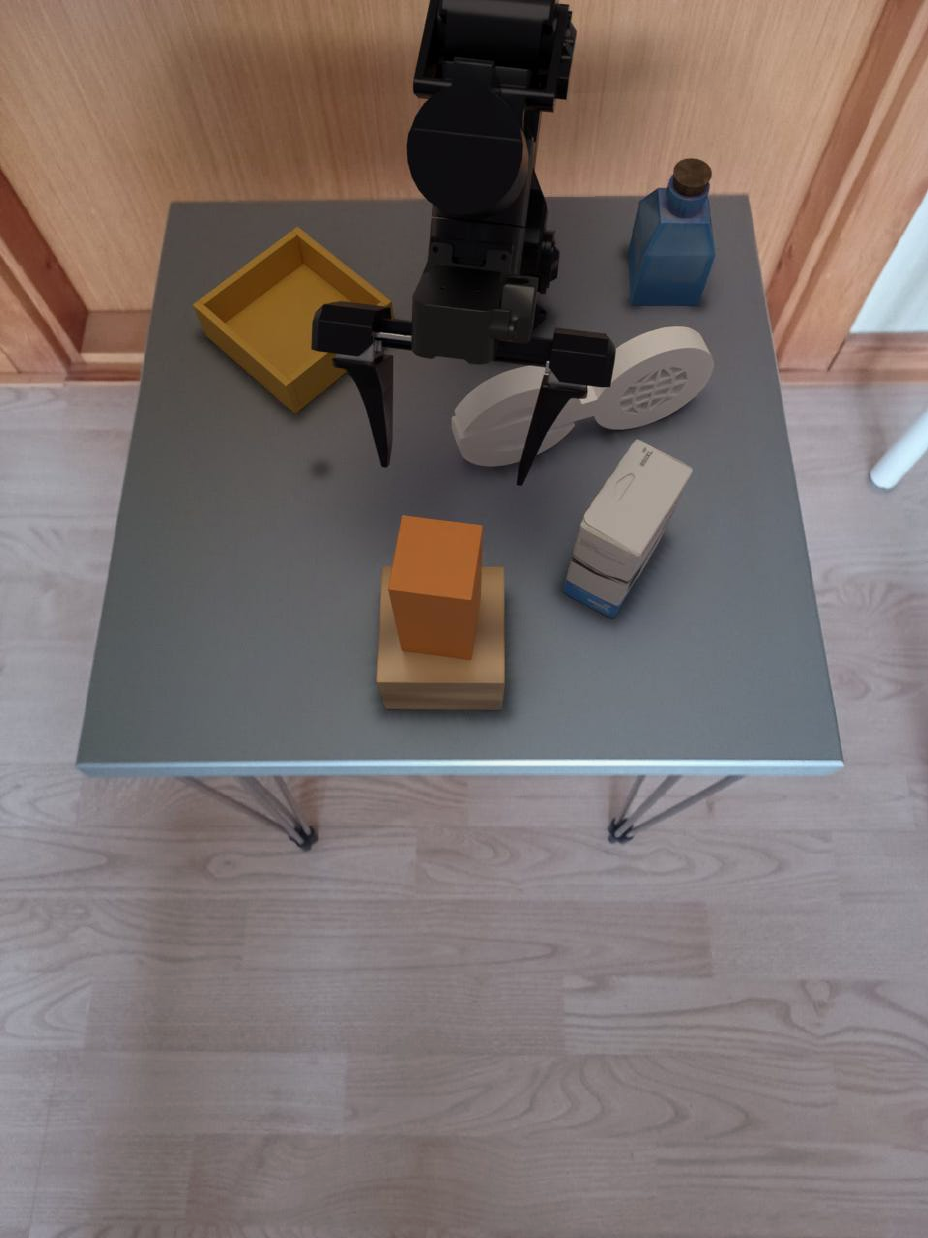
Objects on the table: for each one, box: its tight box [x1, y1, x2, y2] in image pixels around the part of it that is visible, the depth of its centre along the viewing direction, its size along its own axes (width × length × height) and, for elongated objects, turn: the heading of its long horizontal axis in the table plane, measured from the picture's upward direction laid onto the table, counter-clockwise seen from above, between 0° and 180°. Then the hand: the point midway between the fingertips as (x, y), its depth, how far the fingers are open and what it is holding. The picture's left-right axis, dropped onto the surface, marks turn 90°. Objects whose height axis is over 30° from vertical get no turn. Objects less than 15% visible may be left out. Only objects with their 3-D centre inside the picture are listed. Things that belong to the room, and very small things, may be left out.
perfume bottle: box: [627, 157, 716, 307], centre depth 77 cm, size 6×6×12 cm
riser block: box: [375, 565, 506, 711], centre depth 65 cm, size 9×9×7 cm
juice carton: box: [388, 514, 484, 660], centre depth 57 cm, size 5×5×11 cm
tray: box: [192, 226, 395, 415], centre depth 78 cm, size 12×12×4 cm
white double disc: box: [450, 325, 715, 467], centre depth 71 cm, size 22×2×10 cm, turn 108°
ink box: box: [562, 438, 694, 619], centre depth 66 cm, size 8×5×12 cm, turn 148°
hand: (452, 475), depth 59 cm, fingers open, 9 cm apart
